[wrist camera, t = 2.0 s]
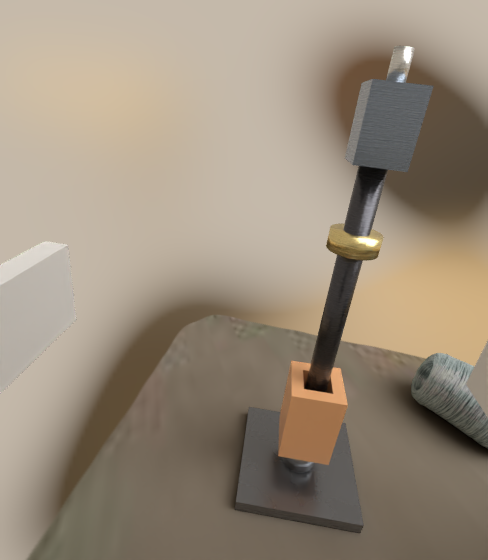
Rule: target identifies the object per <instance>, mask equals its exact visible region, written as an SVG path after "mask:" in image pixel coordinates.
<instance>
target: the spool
mask: <svg viewBox="0 0 488 560" xmlns="http://www.w3.org/2000/svg"><path fill="white" fill-rule="evenodd" d="M473 369H474V366H472V365H470V364H468V363H465V362H463V361H460V360H458V359H456V358H453V357H451V356H449V355H448V354H443V353H436V354H433V355H431V356H430V357H428V358H427V359H426V360H425V361H424V362H423V363H422V364H421V366H420V367H419V368H418V370H417V372H416V374H415V376H414V378H413V380H412V387H411V393H412V397H413V398H414V399H415V400H416V401H417V402H418V403H419V404H420V405H423V406H425V407H427V408H428V409H430V410H431V411H433V412H435V413H436V414H438V415H439V416H440V417H442V418H443V419H445V420H447V421H448V422H449V423H451V424H452V425H454V426H455V427H457V428H458V429H459V430H461V431H462V432H464V433H465V434H466V435H468V436H469V437H471V438H473V439H474V440H475V441H476V442H478V443H479V444H480V445H482V446H484V447H486V448H488V417H487V416H486V414H485V413H484V411H483V410H482V408H481V407H480V405H479V403H478V402H477V400H476V399H475V397H474V396H473V394H472V393H471V391H470V390H469V388H468V387H467V385H466V383H467V381H468V379H469V377H470V375H471V373H472V371H473Z"/></svg>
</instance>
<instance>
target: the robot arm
mask: <svg viewBox="0 0 488 560" xmlns="http://www.w3.org/2000/svg"><path fill="white" fill-rule="evenodd" d="M75 321H76V312H75V303H74V293H73V284H72V276H71V266H70V257H69V248H68V245H66V244H59V243H52V242H46V241H44V242H42V243H40V244H38V245H36V246H35V247H33V248H31V249H29V250H27V251H25V252H23V253H22V254H19V255H18V256H16V257H14V258H12V259H10V260H8V261H6V262H4V263H2V264H0V394H1V393H2V392H3V391H4V390H5V389H6V388H7V387H8V386H9V385H10V384H11V383H12V382H13V381H14V380H15V379H16V378H17V377H18V376H19V375H20V374H21V373H22V372H23V371H24V370H25V369H26V368H28V367H29V366H30V364H31V363H32V362H34V361H35V360H36V359H37V358H38V357H39V356H40V355H41V354H42V353H43V352H44V351H45V350H46V349H47V348H48V347H49V346H50V345H51V344H52V343H53V342H54V341H55V340H56V339H57V338H58V337H59V336H60V335H61V334H62V333H63V332H64V331H65V330H66V329H67V328H69V327H70V326H71V325H72V324H73V322H75ZM466 385H467V387H468V388H469V390H470V391H471V393H472V394H473V396H474V397H475V399H476V400H477V402H478V403H479V405H480V407H481V408H482V410H483V411H484V413H485V414H486V416H487V417H488V341H487V343H486V345H485V347H484V349H483V351H482V353H481V355H480V357H479V359H478V361H477V363H476V365H475V367H474V369H473V371H472V373H471V375H470V377H469V379H468V381H467V383H466Z"/></svg>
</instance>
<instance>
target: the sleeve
mask: <svg viewBox="0 0 488 560" xmlns="http://www.w3.org/2000/svg"><path fill="white" fill-rule="evenodd" d="M310 365H311V364H309V363H303V362H296V361H291V365H290V370H289V375H288V379H287V384H286V389H285V394H284V398H283V403H282V408H281V413H280V418H279V448H278V456H280V457H286V458H291V459H297V460H303V461H308V462H314V463H320V464H325V465H329V462H330V459H331V456H332V453H333V450H334V447H335V443H336V440H337V437H338V434H339V431H340V428H341V425H342V422H343V419H344V415H345V412H346V409H347V406H348V404H347V399H346V394H345V389H344V384H343V379H342V374H341V369H340V368H333V369H332V372H331V376H330V380H329V383H328V387H327V390H326V393H325V392H319V391H313V390H307V389H305V386H306V382H307V378H308V373H309V369H310Z"/></svg>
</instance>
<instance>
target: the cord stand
mask: <svg viewBox="0 0 488 560" xmlns="http://www.w3.org/2000/svg"><path fill="white" fill-rule="evenodd" d="M413 53H414V48H413V47H409V46H396V47H394V51H393V55H392V59H391V63H390V67H389V71H388V75H387V79H386V81H385V80H377V79H371V80H369V81H366V82H364V83H362V84H361V89H360V93H359V98H358V102H357V107H356V111H355V116H354V120H353V125H352V129H351V134H350V138H349V142H348V147H347V152H346V156H345V159H346V160H347V161H349V162H350V163H351V164H352V165H358V166H359V167H358V171H357V175H356V180H355V184H354V188H353V192H352V196H351V200H350V204H349V208H348V213H347V217H346V221H345V224H335V225H332V226H331V227H330V231H329V236H328V240H327V245H326V247H327V248H328V249H329V250H330V251H331V252H333V253H335V254H337V258H336V263H335V266H334V271H333V274H332V279H331V283H330V287H329V291H328V295H327V299H326V304H325V307H324V312H323V316H322V320H321V324H320V329H319V332H318V336H317V340H316V345H315V349H314V353H313V357H312V361H311V365H310V369H309V373H308V378H307V382H306V386H305V389H307V390H313V391H319V392H325V393H326V390H327V387H328V383H329V380H330V376H331V372H332V369H333V365H334V362H335V358H336V355H337V351H338V347H339V344H340V340H341V337H342V333H343V329H344V326H345V322H346V318H347V315H348V311H349V307H350V304H351V300H352V297H353V293H354V290H355V286H356V283H357V279H358V275H359V272H360V268H361V264H362V261H363V260H373V259H376V258H377V257H378V254H379V251H380V247H381V244H382V241H383V235H382V234H380V233H379V232H377V231H375V230H372V225H373V222H374V218H375V215H376V211H377V207H378V204H379V200H380V196H381V193H382V189H383V186H384V182H385V179H386V175H387V171H388V170H396V171H405V172H408V168H409V165H410V162H411V158H412V155H413V152H414V148H415V145H416V142H417V138H418V135H419V132H420V129H421V125H422V122H423V119H424V115H425V112H426V109H427V106H428V102H429V99H430V96H431V92H432V89H433V86H428V85H421V84H411V83H405V82H406V79H407V75H408V71H409V68H410V64H411V60H412V56H413ZM280 413H281V412H276V411H270V410H264V409H258V408H252V407H249V410H248V417H247V424H246V432H245V439H244V446H243V453H242V461H241V468H240V475H239V482H238V489H237V497H236V504H235V510H240V511H245V512H250V513H256V514H261V515H266V516H272V517H277V518H282V519H288V520H293V521H298V522H304V523H309V524H314V525H320V526H325V527H330V528H336V529H341V530H346V531H352V532H357V533H361V530H362V528H363V526H364V525H363V520H362V514H361V508H360V503H359V497H358V491H357V486H356V480H355V475H354V469H353V463H352V458H351V452H350V446H349V441H348V435H347V429H346V424H345V423H342V425H341V428H340V431H339V434H338V437H337V440H336V443H335V447H334V450H333V453H332V456H331V459H330V462H329V465H325V464H320V463H314V462H308V461H303V460H297V459H291V458H286V457H280V456H278V448H279V418H280Z"/></svg>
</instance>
